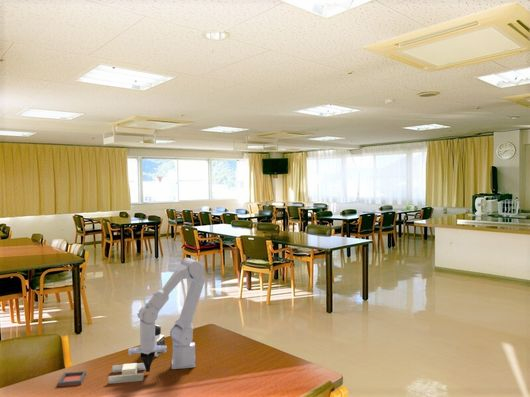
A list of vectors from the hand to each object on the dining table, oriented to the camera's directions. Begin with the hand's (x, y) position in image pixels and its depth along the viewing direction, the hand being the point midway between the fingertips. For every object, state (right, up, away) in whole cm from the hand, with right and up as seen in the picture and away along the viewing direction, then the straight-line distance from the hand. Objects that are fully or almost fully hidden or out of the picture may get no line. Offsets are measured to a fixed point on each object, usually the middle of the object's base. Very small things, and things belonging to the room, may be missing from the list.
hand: (148, 370), depth 162 cm
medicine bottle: (-3, -1, +20) cm, 20 cm away
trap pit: (-27, -2, -5) cm, 28 cm away
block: (-7, -2, -1) cm, 7 cm away
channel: (-8, -1, -1) cm, 8 cm away
